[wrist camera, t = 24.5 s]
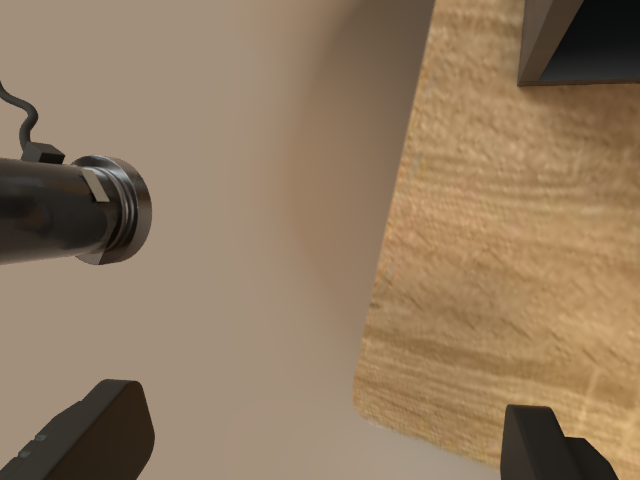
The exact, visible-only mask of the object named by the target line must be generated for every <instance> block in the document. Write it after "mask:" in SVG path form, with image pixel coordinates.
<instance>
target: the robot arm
mask: <svg viewBox="0 0 640 480" xmlns="http://www.w3.org/2000/svg"><path fill="white" fill-rule="evenodd" d="M0 97H1V98H2V99H3V100H5V101H6V102H8V103H10V104H12V105H15V106H17V107H20V108H22V109H24V110H25V111H26V112H27V114H28V117H27V119H26V120H25V121H24V123H23V124H22V125H21V128H20V133H19V139H20V144H21V147H22V150H23V154H22V157H21V160H17V159H7V158H0V265H5V264H13V263H21V262H28V261H37V260H44V259H52V258H60V257H68V256H76V255H84V254H100V253H104V252H107V251H109V250H111V249H112V248H114V247H115V246H116V245H117V244H118V243H119V241H120V240H121V238H122V237H123V235H124V232H125V230H126V226H127V222H128V204H127V199H126V196H125V193H124V190H123V188H122V186H121V185H120V183H119V182H118V180H117V179H116V178H115V177H114V176H113V175H112V174H111V173H109V172H108V171H106V170H104V169H101V168H98V167H89V166H86V167H79V166H76V165H66V164H62V163H63V160H64V157H65V155H64V154H63V153H61V152H60V151H59V150H58V149H56V148H55V147H53V146H52V145H49V144H43V143H36V142H31V141H30V131H31V129H32V128H33V127H34V125H35V124H36V122H37V120H38V113H37V111H36V109H35V108H34V107H33V106H32V105H31V104H30V103H28V102H26V101H24V100H21V99H19V98H16V97H14V96H12V95H10V94H9V93H8V92H6V91H5V90H4V88H3V86H2V84H1V82H0ZM154 440H155V434H154V429H153V425H152V421H151V417H150V413H149V410H148V406H147V403H146V398H145V395H144V391H143V388H142V385H141V384H140V383H139V382H138V381H130V380H129V381H128V380H113V379H105V380H103V381H101V382H100V383H98V384H97V385H96V386H95V387H94V388H93V389H92V390H91V391H90V393H89V394H88V395H87V396H86V397H85V398H84V399H83V400H82V401H78V402H77V403H75V404H74V405H72V406H70V407H69V408H67V409H66V410H64V411H63V412H61V413H60V414H58V415H57V416H55V417H54V418H53V419H52V420H51V421H50V422H49V423H48V424H47V425H46V426H45V427H44V428H43V429H42V430H41V431H40V432H39V433H38V434H37V435H36V436H35V439H34V440H31V441H30V442H29V443H28V444H27V445H26V446H25V447H24V448H23V449H22V450H21V451H20V452H19V453H18V456H17V457H14V458H13V459H12V460H11V461H10V462H9V463H7V465H5V467H3V468H2V470H0V480H136V479H137V478H138V476H139V474H140V473H141V471H142V470H143V468H144V467H145V465H146V464H147V462H148V460H149V458H150V456H151V453H152V451H153V447H154ZM500 472H501V480H619V479H618V477H617V476H616V474H615V472H614V470H613V468H612V466H611V465H610V463H609V462H608V461H607V460H606V459H605V458H604V457H603V456H602V455H601V454H600V453H599V452H598V451H597V450H596V449H595V448H594V447H593V446H592V445H591V444H590V443H589V442H588V441H587V440H586V439H585V438H573V437H565V436H564V434H563V432H562V430H561V427H560V425H559V423H558V421H557V419H556V417H555V414H554V412H553V411H552V409H551V408H550V407H545V406H528V405H511V404H509V405H507V407H506V412H505V422H504V432H503V442H502V452H501V463H500Z"/></svg>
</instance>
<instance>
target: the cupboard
mask: <svg viewBox="0 0 640 480" xmlns="http://www.w3.org/2000/svg"><path fill="white" fill-rule="evenodd" d="M613 83H640V0H525V9H524V19H523V29H522V40H521V50H520V61H519V71H518V82H517V86H547V85H580V84H613Z"/></svg>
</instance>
